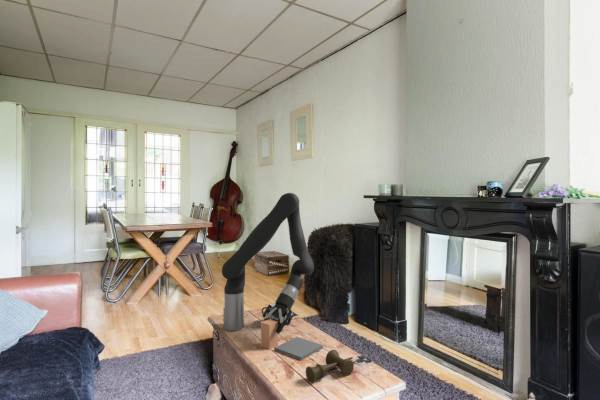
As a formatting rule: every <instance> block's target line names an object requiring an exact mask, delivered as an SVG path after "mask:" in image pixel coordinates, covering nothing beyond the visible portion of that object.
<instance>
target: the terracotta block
mask: <svg viewBox="0 0 600 400" xmlns="http://www.w3.org/2000/svg"><path fill="white" fill-rule="evenodd" d="M277 327H278V322H277V321H274V320H271V319H268V320H266V321H264V320H263V321H261V322H260V347H262V348H265V349H267V350H271V349H273V348H275V347H277V346H279V334H277V333H276V329H277Z"/></svg>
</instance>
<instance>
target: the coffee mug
mask: <svg viewBox="0 0 600 400" xmlns="http://www.w3.org/2000/svg"><path fill="white" fill-rule="evenodd" d="M275 304H276V302H271V303H270V304H268V305H271V306H273V307H274V306H275ZM267 307H268V306H265V307H263V308H261V315H263V313H264V309H265V310H266V309H267ZM272 315H273V314H272ZM268 318H269V317H268ZM271 320H274V321H277V322H278V325H279V323H280V319H279V318H274V319H271Z"/></svg>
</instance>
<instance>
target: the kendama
mask: <svg viewBox="0 0 600 400" xmlns="http://www.w3.org/2000/svg"><path fill="white" fill-rule="evenodd" d="M353 359H354V357H353V356H350V357H347V358H342V357H340V355H339V352H338V350H337V349H331V350H329V351H328V352H327V353H326V356H325V364H321V363H316V365H315V366H306V368H305V376H306V379H307V380H308V382H309V383H312V384H313V383H315V382H316V380H317V379H319V378H320V379H323V378H324V376H325V375H326V374H327V373H328V372H329V371H331V370H332V369H334V368H338V369H340V372H341V374H342V376H343V377H347V376H350V375H351V374H352V373H353V371H354V366H355V365H354V362H353Z"/></svg>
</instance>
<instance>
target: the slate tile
mask: <svg viewBox="0 0 600 400" xmlns="http://www.w3.org/2000/svg"><path fill="white" fill-rule="evenodd" d="M322 349H324V345H323V344H321V343H318V342H315V341H312V340H308V339H306V338H302V337H299V336H296V337H293V338H291V339H290V340H287V341H286V342H283V343H281V344H278V346H276V347H274V351H276V352H277V353H280V354H283V355H286V356H289V357H291V358H293V359H297V360H299V361H303V360H304V359H307V358H308V357H310V356H311V355H313V354H314V353H316V352H318V351H320V350H322Z"/></svg>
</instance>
